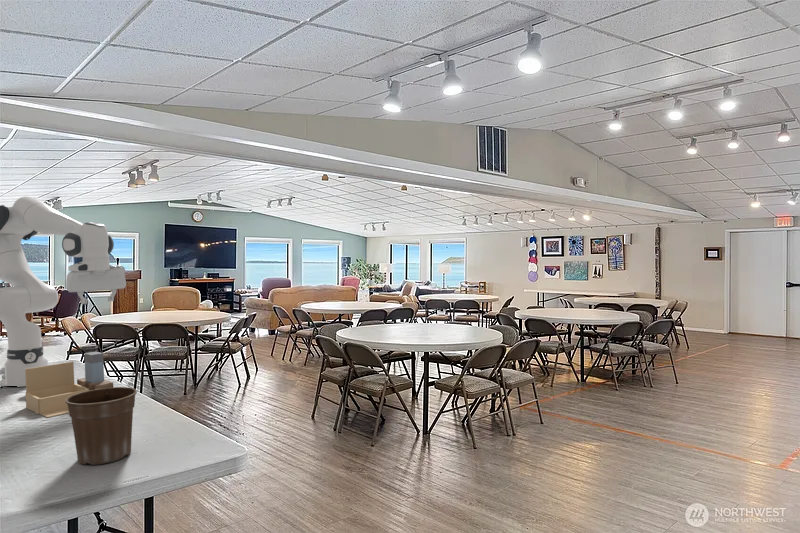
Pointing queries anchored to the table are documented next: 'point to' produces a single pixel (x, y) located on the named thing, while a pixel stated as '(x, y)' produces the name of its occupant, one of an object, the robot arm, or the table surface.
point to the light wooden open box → (51, 388)
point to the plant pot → (102, 423)
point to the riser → (94, 384)
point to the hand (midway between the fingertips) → (97, 302)
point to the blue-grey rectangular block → (94, 367)
